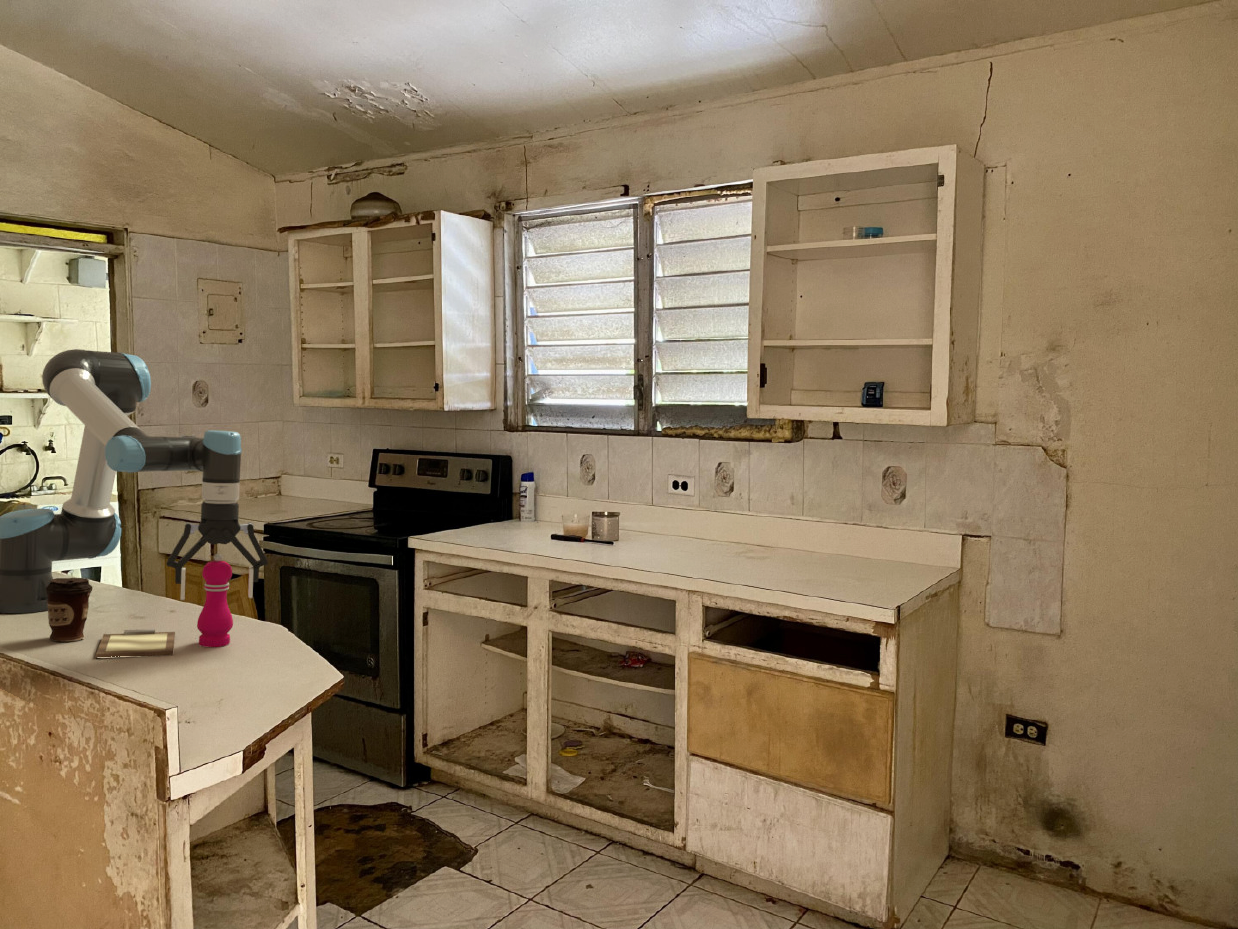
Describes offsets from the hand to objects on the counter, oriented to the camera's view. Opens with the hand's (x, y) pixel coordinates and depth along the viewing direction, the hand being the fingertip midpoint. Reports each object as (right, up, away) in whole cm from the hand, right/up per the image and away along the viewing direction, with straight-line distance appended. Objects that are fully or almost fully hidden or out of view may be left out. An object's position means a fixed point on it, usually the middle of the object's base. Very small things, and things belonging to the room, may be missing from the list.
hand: (216, 597), depth 200 cm
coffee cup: (-31, -9, -3) cm, 32 cm away
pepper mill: (-1, -10, +1) cm, 11 cm away
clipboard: (-14, -10, -6) cm, 18 cm away
